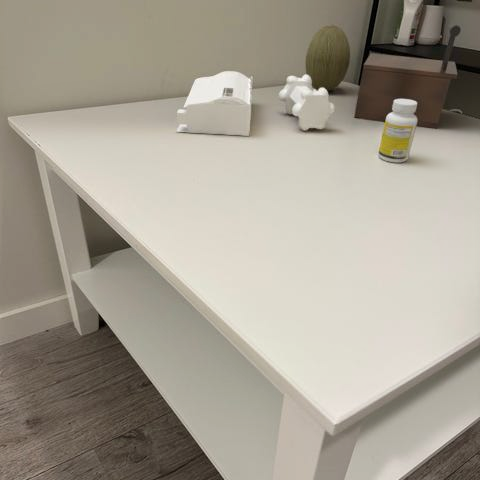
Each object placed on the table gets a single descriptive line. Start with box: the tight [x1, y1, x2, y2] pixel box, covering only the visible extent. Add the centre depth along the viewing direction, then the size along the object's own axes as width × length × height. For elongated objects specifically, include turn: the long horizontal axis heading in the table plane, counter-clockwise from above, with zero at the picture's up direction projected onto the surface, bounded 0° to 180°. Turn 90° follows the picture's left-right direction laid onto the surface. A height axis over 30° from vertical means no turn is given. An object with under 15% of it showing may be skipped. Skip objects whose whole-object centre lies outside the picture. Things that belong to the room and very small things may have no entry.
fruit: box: [305, 24, 351, 92], centre depth 123 cm, size 11×11×15 cm
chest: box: [353, 68, 452, 130], centre depth 109 cm, size 18×15×10 cm
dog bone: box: [278, 73, 336, 132], centre depth 101 cm, size 15×9×8 cm, turn 10°
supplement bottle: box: [378, 99, 417, 164], centre depth 85 cm, size 5×5×10 cm
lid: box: [362, 21, 462, 80], centre depth 103 cm, size 19×15×9 cm
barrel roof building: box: [176, 70, 254, 137], centre depth 102 cm, size 25×15×7 cm, turn 179°
